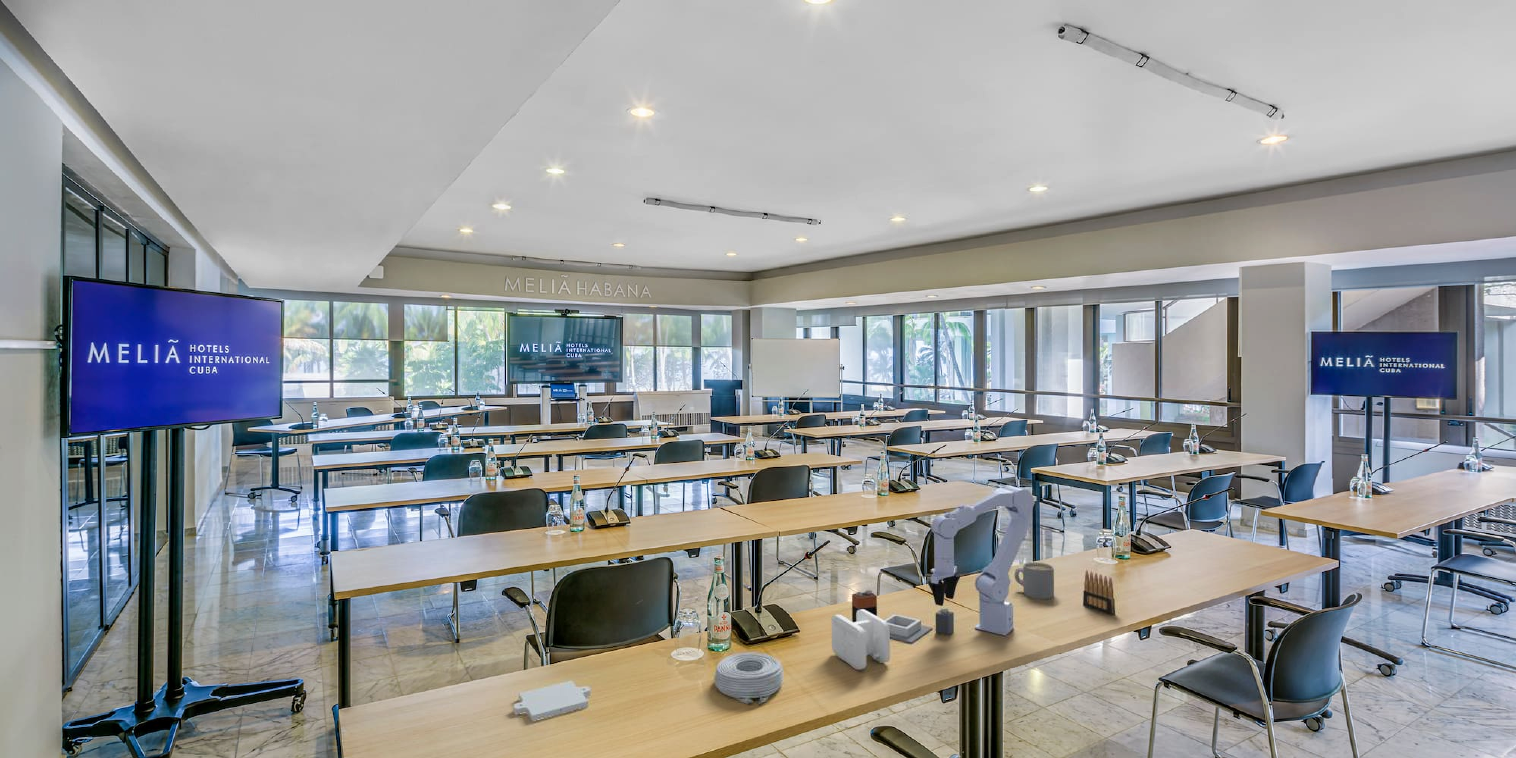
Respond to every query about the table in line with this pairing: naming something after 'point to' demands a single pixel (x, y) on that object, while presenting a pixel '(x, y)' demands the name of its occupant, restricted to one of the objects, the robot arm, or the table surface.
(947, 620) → the block
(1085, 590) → the ammunition clip
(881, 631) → the cable organizer
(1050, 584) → the coffee mug
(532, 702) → the mounting plate
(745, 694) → the cable
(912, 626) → the end holder
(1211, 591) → the table surface
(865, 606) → the battery
